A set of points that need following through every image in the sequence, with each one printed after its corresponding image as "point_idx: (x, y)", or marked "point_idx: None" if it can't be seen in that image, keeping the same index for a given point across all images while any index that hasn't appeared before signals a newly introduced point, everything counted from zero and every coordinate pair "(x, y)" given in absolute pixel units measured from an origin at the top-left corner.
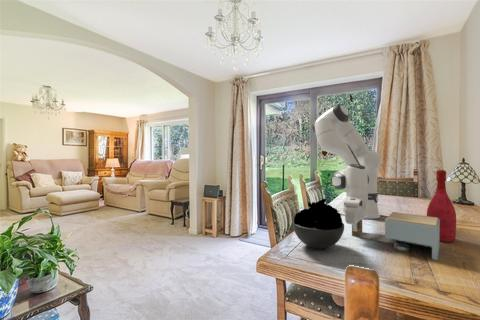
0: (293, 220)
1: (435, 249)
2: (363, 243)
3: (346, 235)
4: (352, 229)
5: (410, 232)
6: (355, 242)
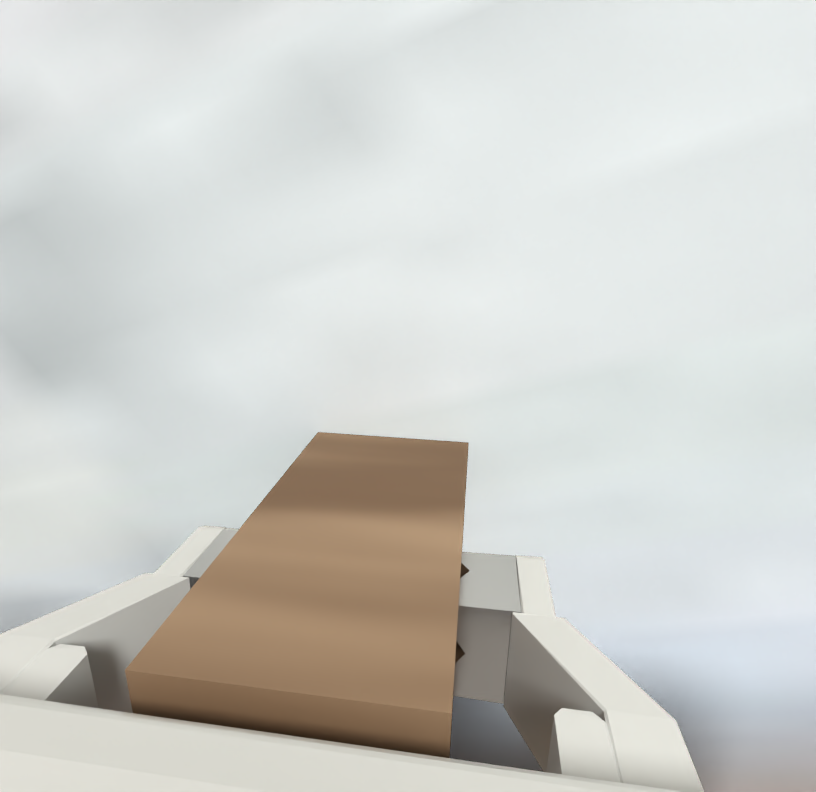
0: None
1: None
2: None
3: (255, 347)
4: (274, 501)
5: None
6: (42, 543)
